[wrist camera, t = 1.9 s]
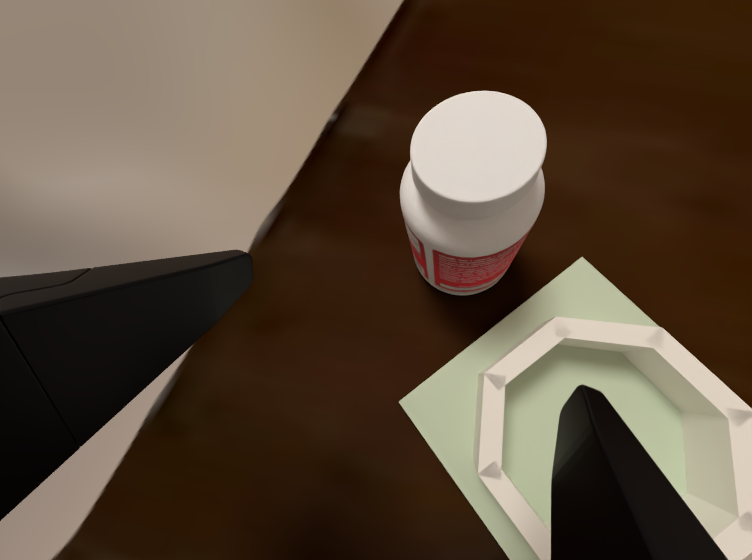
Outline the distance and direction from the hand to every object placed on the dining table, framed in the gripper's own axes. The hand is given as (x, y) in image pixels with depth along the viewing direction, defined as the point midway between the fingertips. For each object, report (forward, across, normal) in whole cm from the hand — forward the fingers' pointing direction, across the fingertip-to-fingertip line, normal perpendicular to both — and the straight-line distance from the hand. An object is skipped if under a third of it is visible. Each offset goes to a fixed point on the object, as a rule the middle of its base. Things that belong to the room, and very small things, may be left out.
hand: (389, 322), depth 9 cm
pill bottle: (+14, 0, +4) cm, 15 cm away
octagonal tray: (+9, -9, +10) cm, 16 cm away
